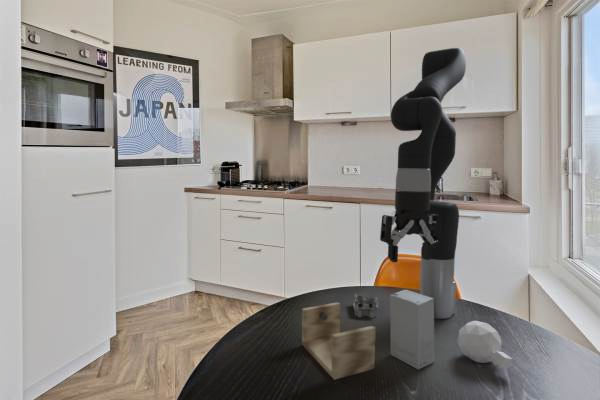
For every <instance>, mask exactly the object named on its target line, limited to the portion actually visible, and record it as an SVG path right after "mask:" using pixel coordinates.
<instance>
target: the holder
mask: <svg viewBox="0 0 600 400" xmlns="http://www.w3.org/2000/svg"><path fill="white" fill-rule="evenodd" d="M301 345H302V347H304V348H305V350H306V351H307V352H308V353H309V354H310V355H311V356H312V357H313V358H314V360H315V361H316V362H318V364H319V365H320V366H321V367H322V368H323V370H325V371H326V373H327V374H328V375H329V376H330V377H331V378H332V379H333V380H334V381H335V380H338V379H342V378H346V377H349V376H354V375H356V374H360V373H363V372H367V371H371V370H373V369H375V364H376V363H375V360H376V359H375V356H376V327H375V326H373V325H370V326H365V327H359V328H355V329H351V330H347V331H343V332H342V331H341V303H339V302H332V303H327V304H321V305H315V306H310V307H304V308H301Z"/></svg>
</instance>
